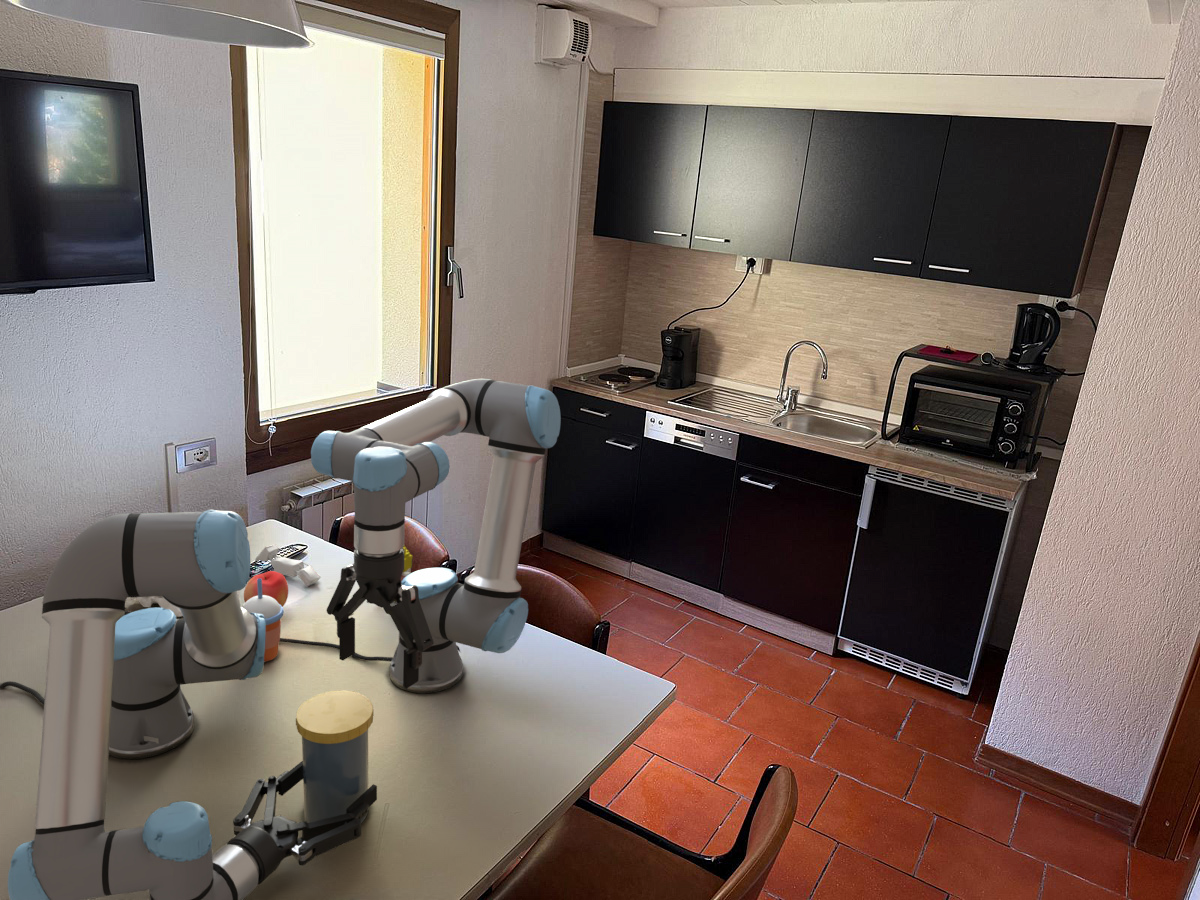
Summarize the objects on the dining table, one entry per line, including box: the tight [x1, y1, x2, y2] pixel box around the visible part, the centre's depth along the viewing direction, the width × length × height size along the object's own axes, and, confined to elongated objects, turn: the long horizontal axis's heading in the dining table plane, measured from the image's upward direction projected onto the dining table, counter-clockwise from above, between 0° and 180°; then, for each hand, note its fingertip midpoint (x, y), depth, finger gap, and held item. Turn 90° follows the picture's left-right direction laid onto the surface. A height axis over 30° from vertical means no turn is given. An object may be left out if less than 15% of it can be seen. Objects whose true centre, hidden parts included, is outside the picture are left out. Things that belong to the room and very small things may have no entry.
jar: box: [301, 729, 369, 824], centre depth 139 cm, size 10×10×19 cm
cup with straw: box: [241, 578, 285, 663], centre depth 181 cm, size 9×9×18 cm
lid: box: [295, 689, 374, 744], centre depth 136 cm, size 12×12×2 cm
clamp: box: [254, 544, 322, 587], centre depth 219 cm, size 20×4×7 cm, turn 62°
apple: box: [243, 570, 289, 608], centre depth 199 cm, size 10×10×10 cm
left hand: (341, 778), depth 140 cm, fingers open, 13 cm apart
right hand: (378, 670), depth 137 cm, fingers open, 13 cm apart
